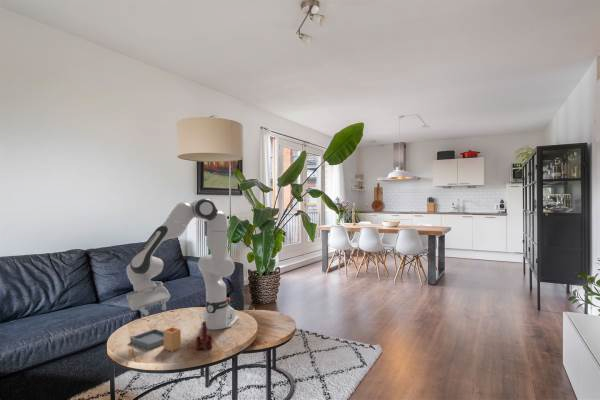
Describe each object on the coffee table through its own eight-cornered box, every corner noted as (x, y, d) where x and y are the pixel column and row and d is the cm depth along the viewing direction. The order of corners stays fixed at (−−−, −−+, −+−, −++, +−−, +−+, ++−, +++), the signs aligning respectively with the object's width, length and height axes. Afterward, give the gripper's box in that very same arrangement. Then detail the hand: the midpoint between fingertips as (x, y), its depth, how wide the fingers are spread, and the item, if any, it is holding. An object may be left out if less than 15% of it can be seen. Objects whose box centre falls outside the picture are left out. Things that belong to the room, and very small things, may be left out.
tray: (130, 342, 172) (130, 337, 172) (155, 333, 183) (155, 328, 183) (148, 349, 163) (148, 344, 163) (173, 340, 175) (173, 335, 175)
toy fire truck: (196, 353, 160) (196, 330, 160) (196, 342, 172) (196, 321, 172) (212, 351, 162) (211, 328, 162) (211, 340, 174) (211, 320, 174)
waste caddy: (163, 349, 164) (163, 330, 164) (172, 345, 168) (172, 326, 168) (171, 352, 161) (171, 332, 161) (180, 348, 165) (180, 329, 165)
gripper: (127, 290, 167) (138, 314, 161) (164, 281, 184) (176, 303, 178) (122, 297, 169) (133, 321, 164) (159, 288, 186) (171, 310, 181)
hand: (156, 311), depth 171 cm, fingers open, 8 cm apart
